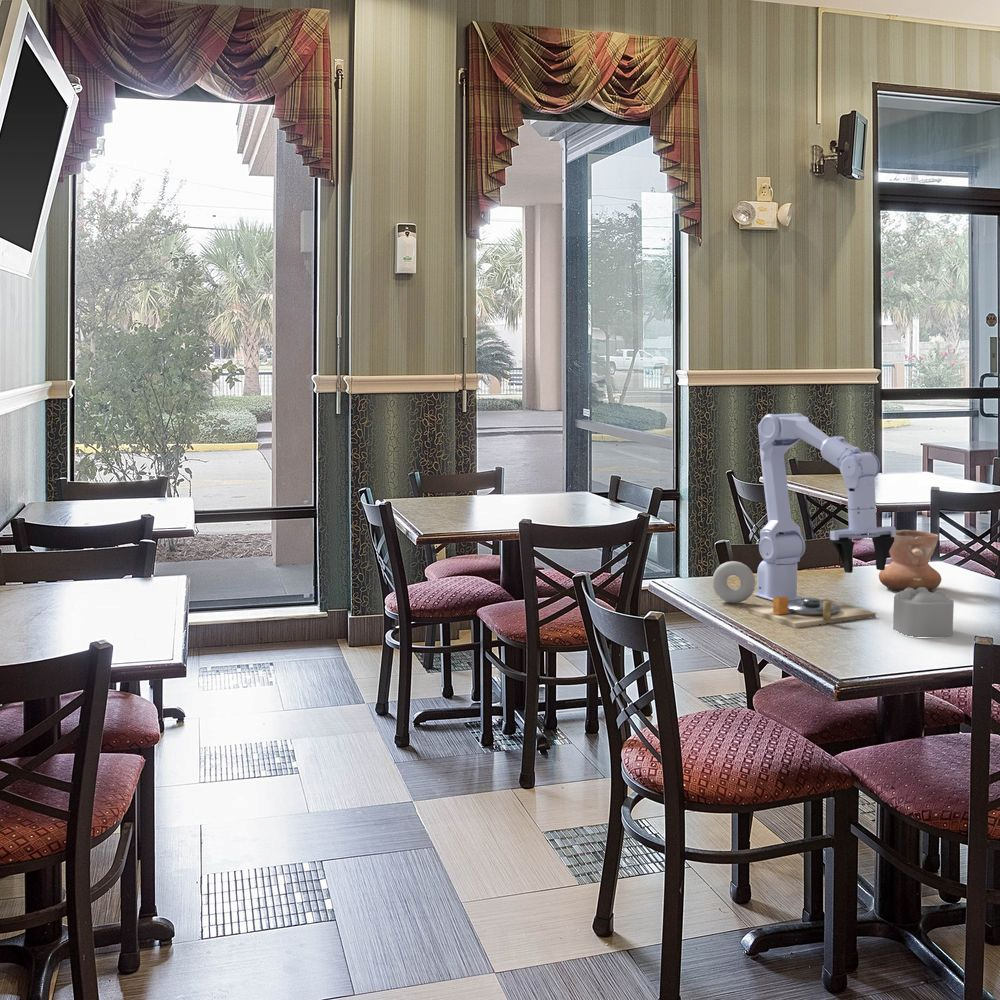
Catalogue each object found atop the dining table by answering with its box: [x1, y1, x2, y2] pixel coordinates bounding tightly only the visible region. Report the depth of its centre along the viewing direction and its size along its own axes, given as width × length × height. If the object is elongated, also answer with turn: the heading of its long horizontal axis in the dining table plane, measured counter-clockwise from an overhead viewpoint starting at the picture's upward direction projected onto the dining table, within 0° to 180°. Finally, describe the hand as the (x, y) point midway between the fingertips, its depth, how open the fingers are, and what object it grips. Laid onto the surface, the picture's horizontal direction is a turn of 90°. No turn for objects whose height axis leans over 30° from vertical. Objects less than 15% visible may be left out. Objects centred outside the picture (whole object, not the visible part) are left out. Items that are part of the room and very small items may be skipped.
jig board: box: [748, 598, 877, 629], centre depth 238 cm, size 17×22×5 cm
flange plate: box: [772, 596, 840, 615], centre depth 238 cm, size 12×16×4 cm
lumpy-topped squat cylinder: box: [892, 587, 955, 638], centre depth 224 cm, size 10×13×9 cm
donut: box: [711, 560, 756, 604], centre depth 252 cm, size 10×4×10 cm, turn 69°
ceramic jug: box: [878, 529, 942, 592], centre depth 265 cm, size 18×14×14 cm
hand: (864, 571), depth 232 cm, fingers open, 7 cm apart
